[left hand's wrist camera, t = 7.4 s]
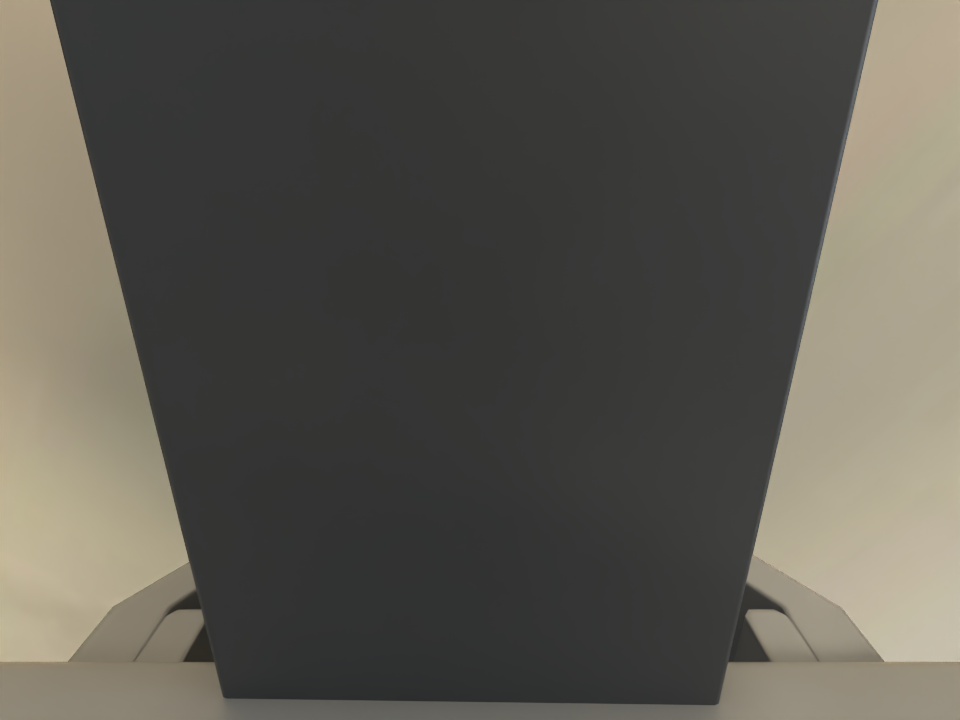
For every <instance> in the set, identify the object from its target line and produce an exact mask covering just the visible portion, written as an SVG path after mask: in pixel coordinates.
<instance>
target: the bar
mask: <svg viewBox="0 0 960 720" xmlns="http://www.w3.org/2000/svg"><path fill="white" fill-rule="evenodd" d="M50 2H51V6H52V10H53V14H54V18H55V22H56V26H57V30H58V34H59V38H60V42H61V46H62V50H63V54H64V58H65V62H66V67H67V71H68V75H69V79H70V83H71V87H72V91H73V95H74V99H75V103H76V107H77V111H78V115H79V119H80V123H81V127H82V131H83V135H84V139H85V143H86V147H87V151H88V155H89V159H90V163H91V167H92V171H93V175H94V179H95V183H96V187H97V191H98V195H99V199H100V204H101V208H102V212H103V216H104V220H105V224H106V228H107V232H108V236H109V240H110V244H111V248H112V252H113V256H114V260H115V264H116V268H117V272H118V276H119V280H120V284H121V288H122V292H123V296H124V300H125V304H126V308H127V312H128V316H129V320H130V324H131V328H132V332H133V336H134V340H135V345H136V349H137V353H138V357H139V361H140V365H141V369H142V373H143V377H144V381H145V385H146V389H147V393H148V397H149V401H150V405H151V409H152V413H153V417H154V421H155V425H156V429H157V433H158V437H159V441H160V445H161V449H162V453H163V457H164V461H165V465H166V469H167V473H168V477H169V482H170V486H171V490H172V494H173V498H174V502H175V506H176V510H177V514H178V518H179V522H180V526H181V530H182V534H183V538H184V542H185V546H186V550H187V554H188V558H189V562H190V566H191V570H192V574H193V578H194V582H195V586H196V590H197V594H198V598H199V602H200V606H201V610H202V614H203V619H204V623H205V627H206V631H207V635H208V639H209V643H210V647H211V651H212V655H213V659H214V663H215V667H216V671H217V675H218V679H219V683H220V687H221V691H222V695H223V697H224V698H227V699H298V700H370V701H443V702H515V703H588V704H660V705H717V704H719V700H720V695H721V691H722V687H723V682H724V678H725V673H726V669H727V664H728V660H729V656H730V651H731V647H732V642H733V638H734V634H735V629H736V625H737V620H738V616H739V612H740V607H741V603H742V598H743V594H744V589H745V585H746V581H747V576H748V572H749V567H750V563H751V559H752V554H753V550H754V545H755V541H756V536H757V532H758V528H759V523H760V519H761V514H762V510H763V506H764V501H765V497H766V492H767V488H768V484H769V479H770V475H771V470H772V466H773V461H774V457H775V453H776V448H777V444H778V439H779V435H780V431H781V426H782V422H783V417H784V413H785V409H786V404H787V400H788V395H789V391H790V386H791V382H792V378H793V373H794V369H795V364H796V360H797V356H798V351H799V347H800V342H801V338H802V334H803V329H804V325H805V320H806V316H807V311H808V307H809V303H810V298H811V294H812V289H813V285H814V281H815V276H816V272H817V267H818V263H819V259H820V254H821V250H822V245H823V241H824V236H825V232H826V228H827V223H828V219H829V214H830V210H831V206H832V201H833V197H834V192H835V188H836V183H837V179H838V175H839V170H840V166H841V161H842V157H843V153H844V148H845V144H846V139H847V135H848V131H849V126H850V122H851V117H852V113H853V108H854V104H855V100H856V95H857V91H858V86H859V82H860V78H861V73H862V69H863V64H864V60H865V56H866V51H867V47H868V42H869V38H870V33H871V29H872V25H873V20H874V16H875V11H876V7H877V3H878V0H50Z"/></svg>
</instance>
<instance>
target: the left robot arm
mask: <svg viewBox="0 0 960 720" xmlns="http://www.w3.org/2000/svg"><path fill="white" fill-rule="evenodd" d="M0 720H960V662H884V660H883V659H882V658H881V657H880V655H879V654H878V653H877V652H876V650H875V649H874V648H873V647H872V645H871V644H870V643H869V642H868V640H867V639H866V638H865V637H864V635H863V634H862V633H861V632H860V630H859V629H858V628H857V626H856V625H855V624H854V623H853V621H852V620H851V619H850V618H849V616H848V615H847V614H846V613H845V611H844V610H843V609H842V608H841V607H839V606H838V605H836V604H834V603H833V602H831V601H829V600H827V599H826V598H824V597H822V596H821V595H819V594H817V593H816V592H814V591H812V590H811V589H809V588H807V587H806V586H804V585H802V584H801V583H799V582H797V581H796V580H794V579H792V578H791V577H789V576H787V575H785V574H784V573H782V572H780V571H779V570H777V569H775V568H774V567H772V566H770V565H769V564H767V563H765V562H764V561H762V560H760V559H759V558H757V557H755V556H754V555H752V559H751V563H750V567H749V572H748V576H747V581H746V585H745V589H744V594H743V598H742V603H741V607H740V612H739V616H738V620H737V625H736V629H735V634H734V638H733V642H732V647H731V651H730V656H729V660H728V664H727V669H726V673H725V678H724V682H723V687H722V691H721V695H720V700H719V704H717V705H660V704H588V703H515V702H443V701H370V700H298V699H227V698H224V697H223V695H222V691H221V687H220V683H219V679H218V675H217V671H216V667H215V663H214V659H213V655H212V651H211V647H210V643H209V639H208V635H207V631H206V627H205V623H204V619H203V614H202V610H201V606H200V602H199V598H198V594H197V590H196V586H195V582H194V578H193V574H192V570H191V566H190V562H189V563H187V564H185V565H184V566H182V567H180V568H178V569H177V570H175V571H173V572H172V573H170V574H168V575H166V576H165V577H163V578H161V579H160V580H158V581H156V582H155V583H153V584H151V585H149V586H148V587H146V588H144V589H143V590H141V591H139V592H138V593H136V594H134V595H132V596H131V597H129V598H127V599H126V600H124V601H122V602H121V603H119V604H117V605H115V606H114V607H112V609H111V610H110V611H109V612H108V613H107V615H106V616H105V617H104V618H103V620H102V621H101V622H100V623H99V624H98V626H97V627H96V628H95V629H94V631H93V632H92V633H91V634H90V635H89V637H88V638H87V639H86V640H85V642H84V643H83V644H82V645H81V646H80V648H79V649H78V650H77V651H76V653H75V654H74V655H73V656H72V657H71V659H70V660H69V661H68V662H0Z"/></svg>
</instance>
